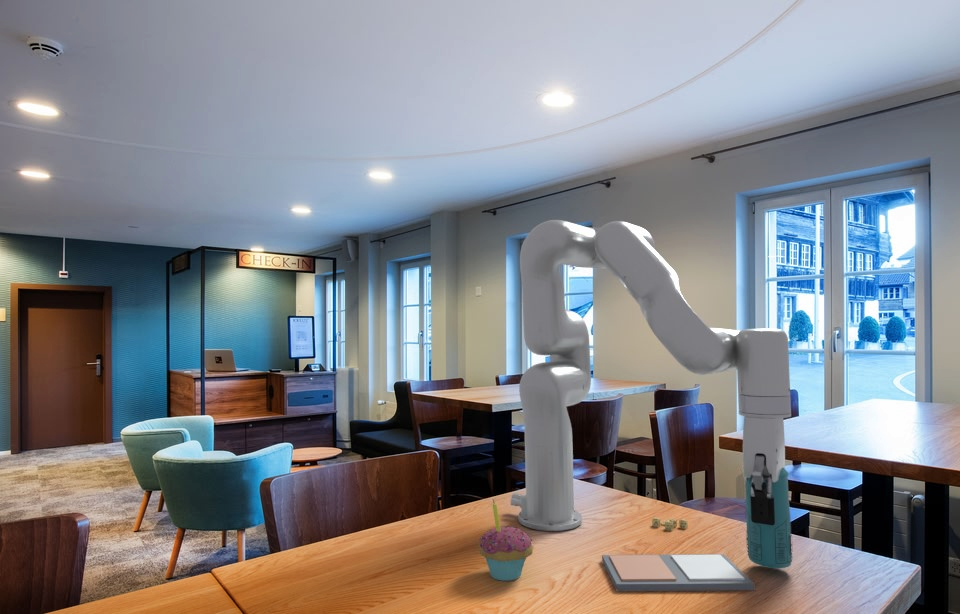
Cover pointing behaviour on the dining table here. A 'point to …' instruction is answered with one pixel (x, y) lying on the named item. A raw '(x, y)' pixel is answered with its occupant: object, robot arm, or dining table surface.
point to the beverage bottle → (771, 528)
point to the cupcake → (505, 550)
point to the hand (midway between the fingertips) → (768, 514)
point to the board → (675, 573)
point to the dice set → (669, 523)
